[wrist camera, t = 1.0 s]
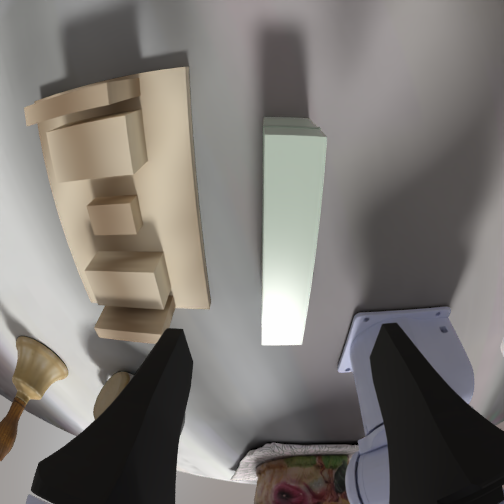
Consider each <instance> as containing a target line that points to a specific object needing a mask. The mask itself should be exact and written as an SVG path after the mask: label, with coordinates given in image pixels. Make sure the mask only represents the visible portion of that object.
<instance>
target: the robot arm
mask: <svg viewBox="0 0 504 504" xmlns="http://www.w3.org/2000/svg"><path fill="white" fill-rule="evenodd" d="M450 313H451V309H450V307H448V306H447V307H436V308H424V309H411V310H397V311H381V312H361V313H357V314H356V315H355V316H354V318H353V321H352V325H351V328H350V331H349V334H348V337H347V341H346V344H345V347H344V350H343V353H342V356H341V359H340V361H339V364H338V367H337V369H338V372H340V373H344V372H353V375H354V379H355V384H356V389H357V394H358V399H359V404H360V410H361V415H362V421H363V426H364V432H365V437H364V438H362V439H360V440H358V446H359V451H357V452H355V453H354V454H353V455H352V457H351V459H350V462H349V464H348V466H347V470H346V475H345V486H346V493H347V497H348V500H349V502H350V504H504V489H503V488H502V485H504V431H502V430H501V429H499V428H498V427H496V426H495V425H493V424H492V423H491V422H489V421H488V420H487V419H485V418H484V417H483V416H482V415H480V414H479V413H478V412H477V411H476V410H474V409H473V407H472V406H470V405H469V403H470V401H471V399H472V396H473V392H474V373H473V369H472V365H471V363H470V361H469V358H468V356H467V354H466V352H465V350H464V348H463V346H462V344H461V342H460V340H459V338H458V336H457V334H456V332H455V330H454V328H453V326H452V324H451V322H450V320H449V318H448V317H449V315H450ZM192 369H193V360H192V357H191V354H190V351H189V348H188V344H187V341H186V338H185V335H184V331H183V329H171V328H167V329H166V330H165V331H164V332H163V334H162V335H161V337H160V338H159V340H158V342H157V343H156V345H155V346H154V348H153V349H152V351H151V352H150V354H149V355H148V357H147V358H146V359H145V361H144V362H143V364H142V365H141V366H140V368H139V369H138V371H137V372H136V373H135V375H134V376H133V377H132V379H131V380H130V381H129V383H128V384H127V385H126V386H125V388H124V389H123V390H122V391H121V393H120V394H119V395H118V396H117V397H116V399H115V400H114V401H113V402H112V403H111V404H110V405H109V406H108V407H107V409H106V410H105V411H104V412H103V413H102V414H101V415H100V416H99V417H98V418H97V419H96V420H95V421H94V422H93V423H91V424H90V425H89V426H88V427H87V428H86V429H85V430H84V431H83V432H81V433H80V434H79V435H78V436H76V437H75V438H74V439H73V440H71V441H70V442H69V443H68V444H66V445H65V446H64V447H62V448H61V449H60V450H58V451H56V452H55V453H53V454H52V455H50V456H49V457H47V458H45V459H44V460H42V461H40V462H39V464H38V467H37V469H36V473H35V476H34V480H33V483H32V487H31V491H32V492H33V493H34V494H36V495H38V496H39V497H41V498H43V499H45V500H47V501H49V502H51V503H53V504H175V483H176V482H175V481H176V466H177V454H178V444H179V438H180V433H181V428H182V424H183V419H184V415H185V410H186V406H187V401H188V397H189V392H190V387H191V379H192ZM26 504H50V503H47V502H45V501H43V500H41V499H39V498H37V497H35V496H32V495H30V494H29V495H28V497H27V501H26Z"/></svg>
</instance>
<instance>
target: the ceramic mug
mask: <svg viewBox="0 0 504 504" xmlns="http://www.w3.org/2000/svg"><path fill="white" fill-rule="evenodd" d="M133 376H134V375H132V374H130V373H127V372H118V373H116V374H114V375H113V376H112V377H111V378H109V380H108V381H107V382H106V384H105V385H104V386H103V388H102V389H101V391H100V393H99V395H98V397H97V399H96V402H95V405H94V411H93V414H94V418H95V420H96V419H97V418H98V417H99V416H100V415H101V414H102V413H103V412H104V411H105V410H106V409H107V407H108V406H109V405H110V404H111V403H112V402H113V401H114V400H115V399H116V397H117V396H118V395H119V394H120V393H121V391H122V390H123V389H124V388H125V386H126V385H127V384H128V383H129V381H130V380H131V379H132V377H133ZM184 423H185V415H184V419H183V424H182V428H181V432H182V430H183V426H184ZM180 435H181V433H180Z"/></svg>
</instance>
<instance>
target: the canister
mask: <svg viewBox="0 0 504 504" xmlns="http://www.w3.org/2000/svg"><path fill="white" fill-rule="evenodd" d="M501 352H502V354H503V356H504V337H503V340H502V343H501Z"/></svg>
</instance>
